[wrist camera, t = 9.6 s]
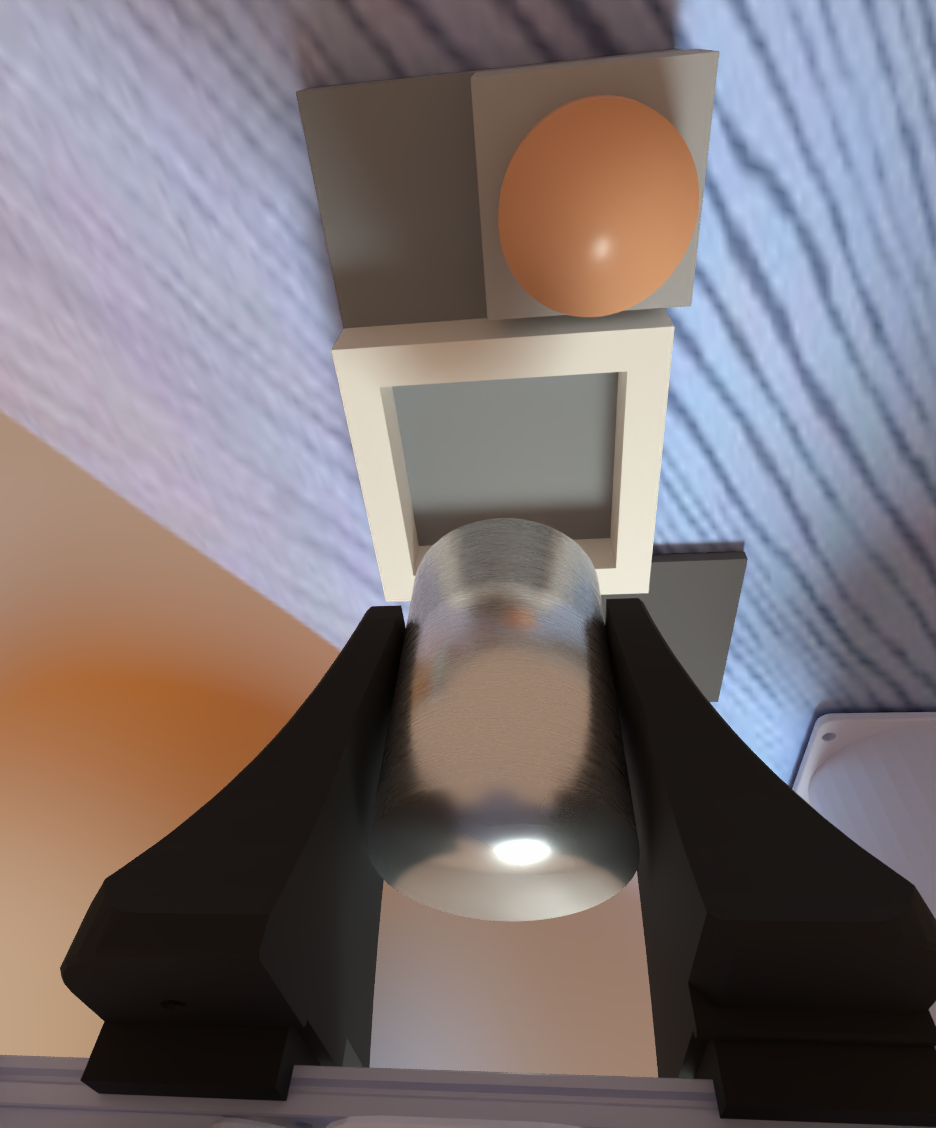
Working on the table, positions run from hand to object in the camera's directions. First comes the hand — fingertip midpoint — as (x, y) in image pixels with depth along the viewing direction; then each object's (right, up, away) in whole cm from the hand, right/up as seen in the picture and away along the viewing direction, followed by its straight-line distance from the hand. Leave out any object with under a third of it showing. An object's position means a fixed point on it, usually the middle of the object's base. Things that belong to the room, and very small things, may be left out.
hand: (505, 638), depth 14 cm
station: (0, +7, +5) cm, 9 cm away
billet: (0, +1, +1) cm, 1 cm away
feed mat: (+5, -1, +11) cm, 12 cm away
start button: (+2, +10, +1) cm, 10 cm away
